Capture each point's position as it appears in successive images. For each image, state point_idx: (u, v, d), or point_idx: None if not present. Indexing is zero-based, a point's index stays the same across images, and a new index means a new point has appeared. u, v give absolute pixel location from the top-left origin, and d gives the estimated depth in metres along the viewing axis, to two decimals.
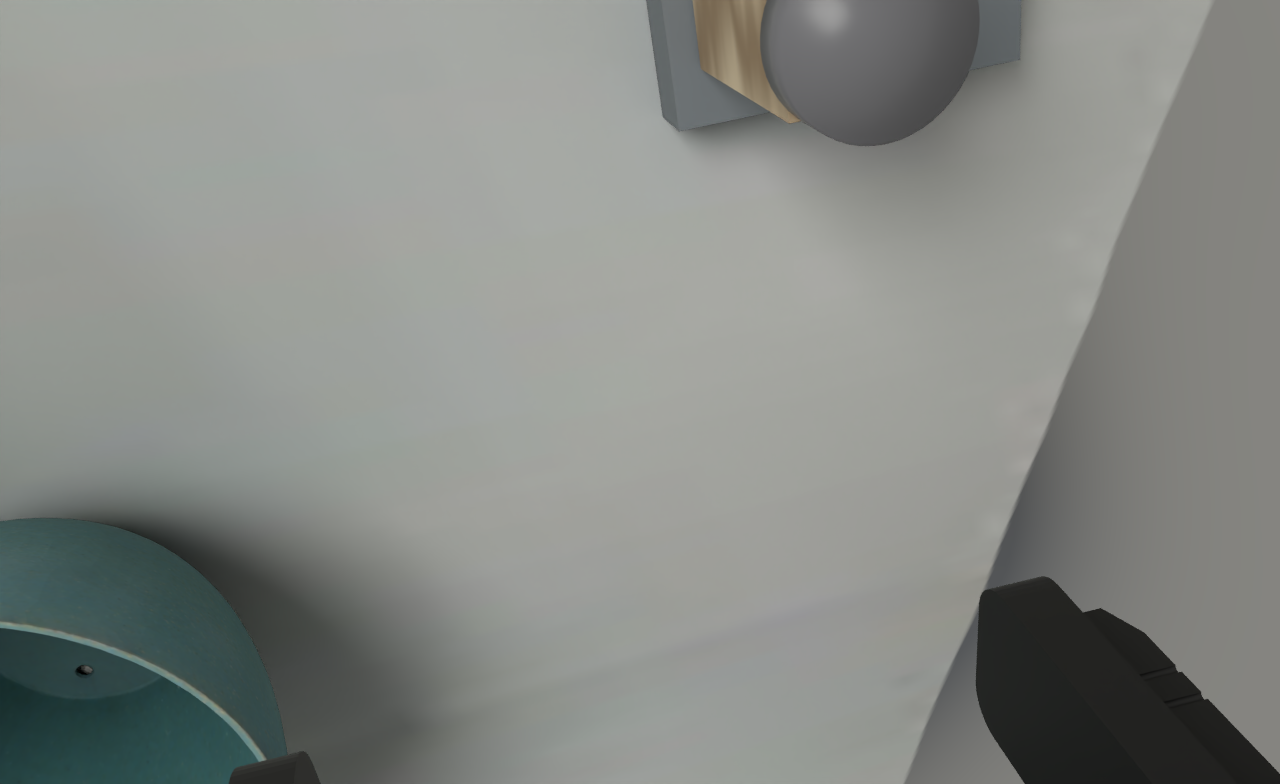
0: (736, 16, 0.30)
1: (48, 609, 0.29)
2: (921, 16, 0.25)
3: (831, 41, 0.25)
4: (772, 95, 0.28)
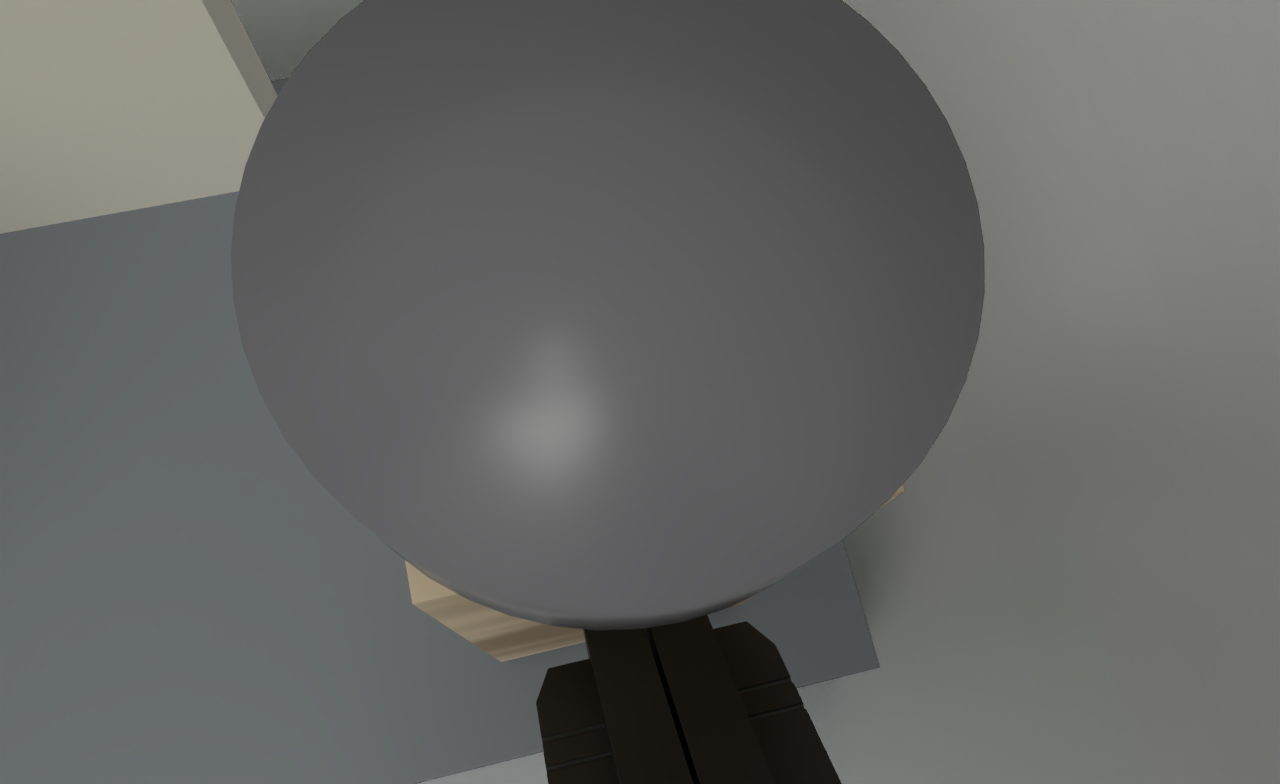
0: None
1: None
2: (533, 107, 0.07)
3: (628, 408, 0.07)
4: None
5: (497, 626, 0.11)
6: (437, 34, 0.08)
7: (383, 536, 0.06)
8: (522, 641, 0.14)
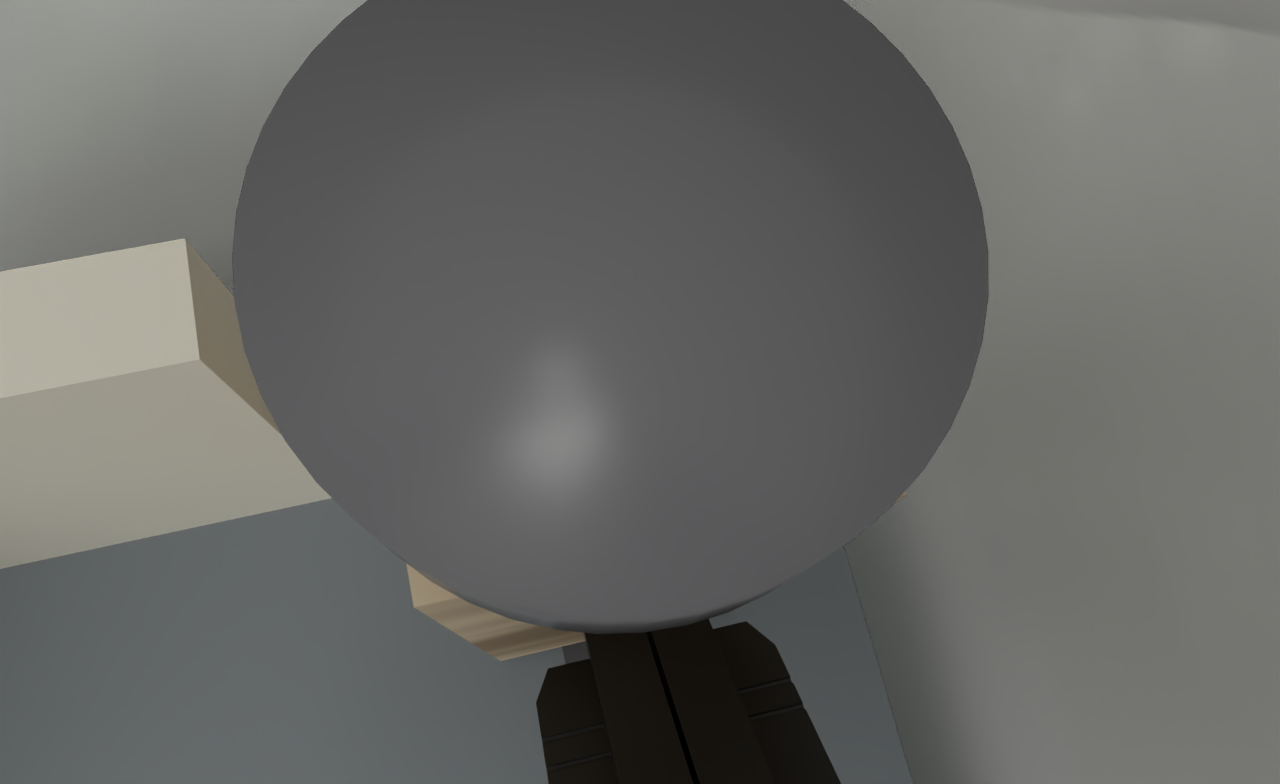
0: None
1: None
2: (536, 109, 0.07)
3: (631, 413, 0.07)
4: None
5: (497, 627, 0.11)
6: (442, 36, 0.07)
7: (385, 541, 0.06)
8: (522, 641, 0.14)
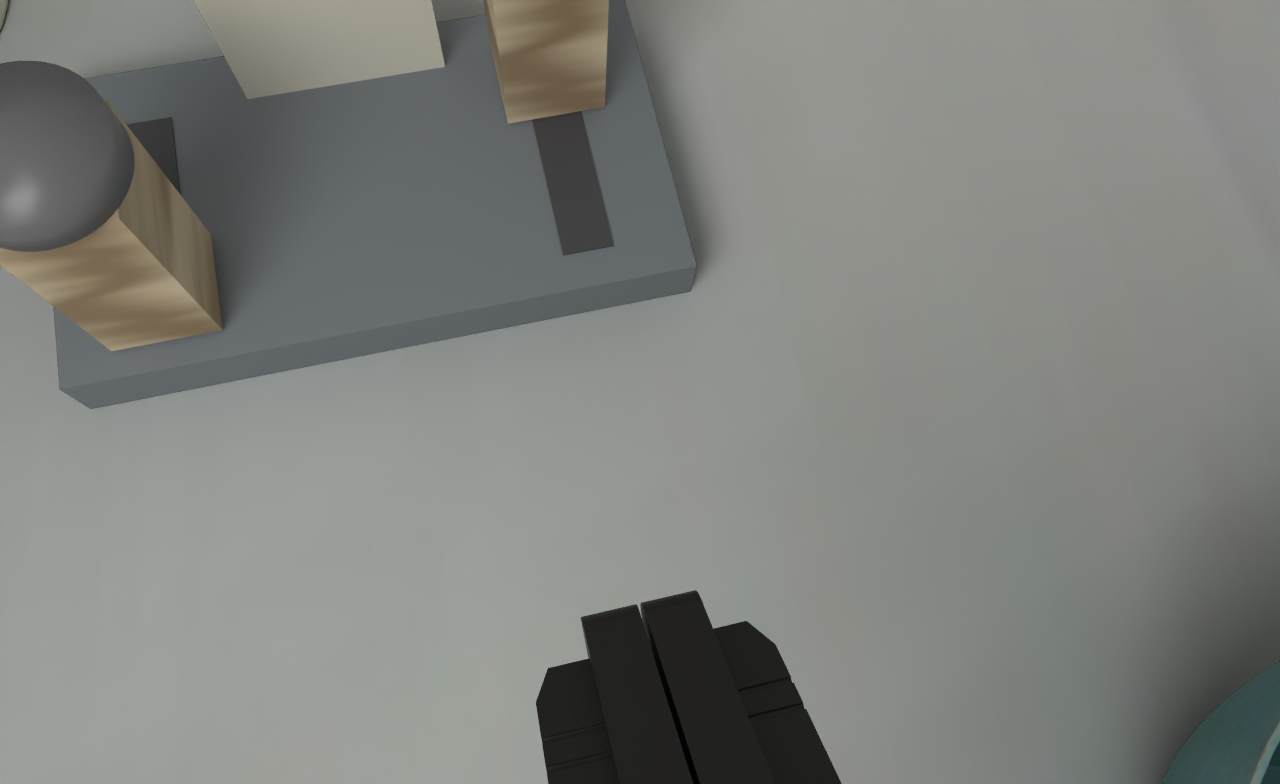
0: (545, 38, 0.37)
1: None
2: None
3: None
4: None
5: (508, 31, 0.36)
6: None
7: None
8: (516, 76, 0.39)
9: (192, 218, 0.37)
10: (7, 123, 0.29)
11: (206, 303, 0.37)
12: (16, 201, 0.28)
